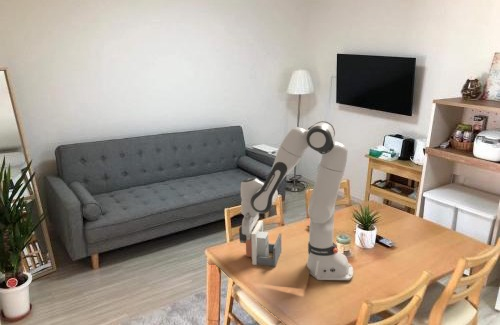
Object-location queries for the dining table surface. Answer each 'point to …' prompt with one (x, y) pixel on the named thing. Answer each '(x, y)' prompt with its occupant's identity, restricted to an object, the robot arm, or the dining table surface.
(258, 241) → the supplement box
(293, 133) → the robot arm
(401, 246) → the dining table surface
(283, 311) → the dining table surface
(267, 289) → the dining table surface
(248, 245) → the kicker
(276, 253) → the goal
